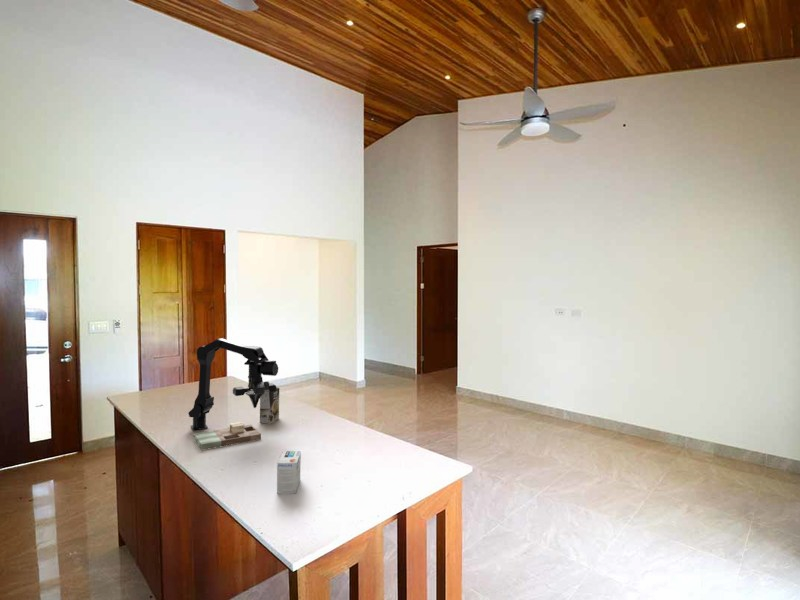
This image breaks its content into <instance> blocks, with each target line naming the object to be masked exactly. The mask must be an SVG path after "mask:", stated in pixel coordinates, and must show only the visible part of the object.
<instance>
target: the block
mask: <svg viewBox="0 0 800 600" xmlns="http://www.w3.org/2000/svg"><path fill="white" fill-rule="evenodd" d="M244 426H245V424H244V423H243V422H242V421H238V422H232V423H229V428H230V431H231V432H232V433H238V432H244Z"/></svg>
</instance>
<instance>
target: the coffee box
mask: <svg viewBox="0 0 800 600" xmlns="http://www.w3.org/2000/svg"><path fill="white" fill-rule="evenodd" d="M278 418H279V419H280V387H277V391H273V392H270V391H269V390H265V393H264V394H263V395H261V397H260V399H259V423H263V424H269V423H271V424H272V423H275V422H276V421H277V420H278ZM275 420H276V421H275Z"/></svg>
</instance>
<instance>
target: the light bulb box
mask: <svg viewBox="0 0 800 600" xmlns="http://www.w3.org/2000/svg"><path fill="white" fill-rule="evenodd" d="M301 457H302V452H301V450H291V451H290V450H289V451H285V450H283V451H282V452H281V455H280V457H279V459H278V461H277V463H276V471H277V472H276V494H279V495H282V494H285V495H286V494H297V491H298V488H299V485H300V481H301V463H302V462H301V461H302V460H301Z"/></svg>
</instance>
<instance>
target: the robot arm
mask: <svg viewBox="0 0 800 600" xmlns="http://www.w3.org/2000/svg"><path fill="white" fill-rule="evenodd" d="M220 349H223V350H225V351H228V352H229V351H230V352H232V353H235V354H238V355H241V356H243V358H244V359H247V360H246V361H245V362H244V365H245V366H248V376H247V378H248V384H247V387H246V388H244V387H243V386H235V387H233V388H232V394H233V395H234V396H236V397H239V396H244V395H246V396H247V397H248V398H249V399H250V402H251V404H252V407H253V408H254V409H256V408H257V407H258V403H259V402H260V397H261V395H263V394H264V393H265V390H269V391H270V392H273V391H277V388H278V387H277V385H276V384H274V383H272V382H271V383H270V382H269V380H268V381H263V376H271V377H275V376H277V375H278V373H279V366H278V364H277V361H276V360H269V359H268V357H267V356H266V354H265V353H264V349H263V348H262V347H261V346H255V345H244V344H241V343H238V342H234V341H232V340H229V339H225V338H224V337H221V338H220V337H219V338H217V339H214V340H213V341H212V342H210V343H208V344H205V345H202V346H201V345H200V346H199V347H198V348H197V349H196V359H197V361H198V364H199V371H198V372H199V376H198V377H199V378H198V393H197V395H196V398H195V400H194V402H193V408H192V409H190V410H189V411H188V417H189V418H192V425H190V428H191V429H192V431H198V430H204V429H208V428H209V427H208V425H207V414H209V413H210V411H211V409H213V406H214V405H215V404H214V400H215V397H214V396H212V395H211V393H210V389H211V374H212V373H211V370H212V363H213V361H214V359H215V357H216V353H217V352H218V351H219V350H220Z"/></svg>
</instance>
